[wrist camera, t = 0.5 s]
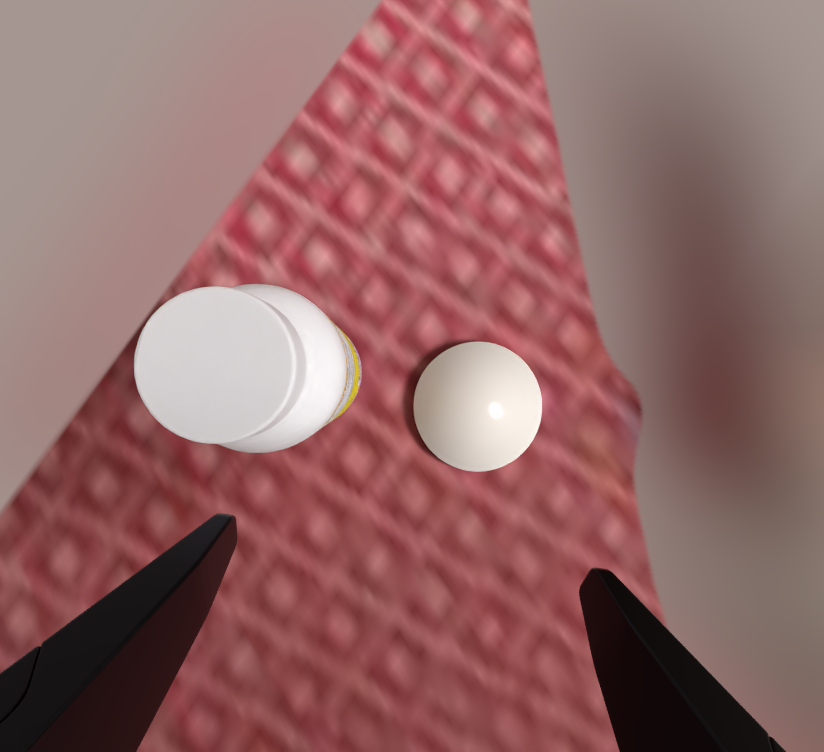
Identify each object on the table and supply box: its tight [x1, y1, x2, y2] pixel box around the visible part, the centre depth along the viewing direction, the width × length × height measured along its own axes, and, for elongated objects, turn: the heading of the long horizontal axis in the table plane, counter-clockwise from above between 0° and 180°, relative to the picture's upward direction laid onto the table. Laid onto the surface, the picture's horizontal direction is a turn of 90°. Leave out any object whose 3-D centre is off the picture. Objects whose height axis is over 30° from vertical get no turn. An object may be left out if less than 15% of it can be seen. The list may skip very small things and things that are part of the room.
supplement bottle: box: [134, 284, 362, 453], centre depth 17 cm, size 7×7×13 cm
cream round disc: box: [413, 342, 542, 472], centre depth 23 cm, size 8×8×1 cm
